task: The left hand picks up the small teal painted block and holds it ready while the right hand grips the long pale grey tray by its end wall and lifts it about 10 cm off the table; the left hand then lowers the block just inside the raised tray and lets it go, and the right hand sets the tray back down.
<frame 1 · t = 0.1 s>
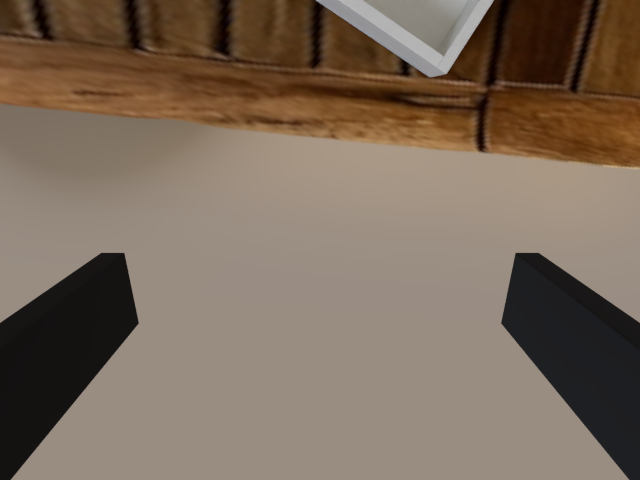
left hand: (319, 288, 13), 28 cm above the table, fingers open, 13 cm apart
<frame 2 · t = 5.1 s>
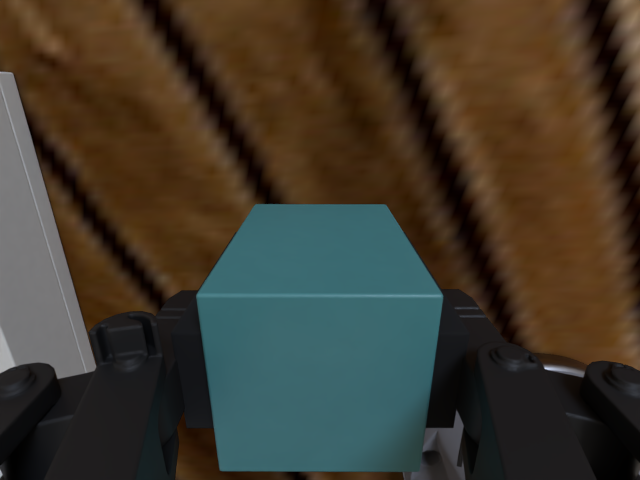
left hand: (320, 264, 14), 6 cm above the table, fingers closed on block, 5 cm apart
block: (320, 264, 15), point 5 cm above the table, touching left hand
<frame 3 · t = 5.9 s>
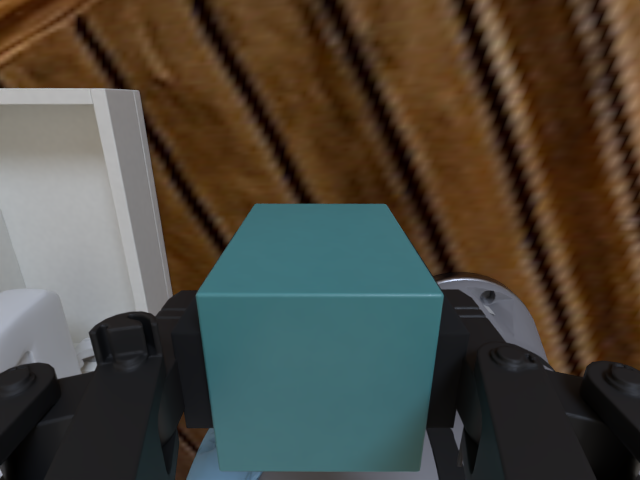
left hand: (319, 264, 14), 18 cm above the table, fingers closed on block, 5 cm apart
block: (320, 263, 15), point 18 cm above the table, touching left hand
tray: (85, 233, 33), on the table, touching right hand
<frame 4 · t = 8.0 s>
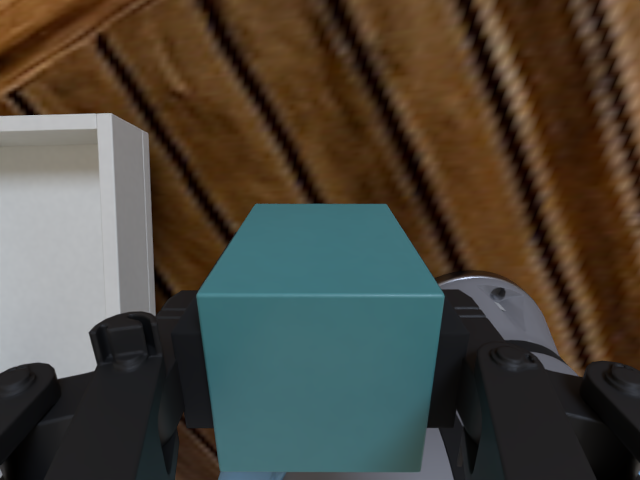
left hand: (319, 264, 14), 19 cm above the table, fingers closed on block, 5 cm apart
block: (320, 263, 15), point 19 cm above the table, touching left hand
tray: (66, 289, 29), point 6 cm above the table, tilted 18°, touching right hand
when the left hand's fingers open (15 cm above the table, at t = 11.4 s): block drops 10 cm and tips over, resting on tray.
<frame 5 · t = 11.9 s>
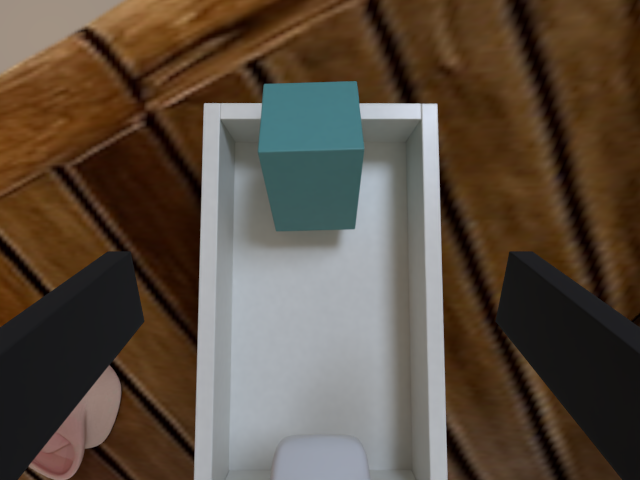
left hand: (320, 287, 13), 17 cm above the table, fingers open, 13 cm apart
block: (314, 199, 24), point 4 cm above the table, tilted 52°, touching tray
anatomical model: (64, 388, 35), on the table
tray: (320, 299, 26), point 5 cm above the table, tilted 25°, touching block, right hand
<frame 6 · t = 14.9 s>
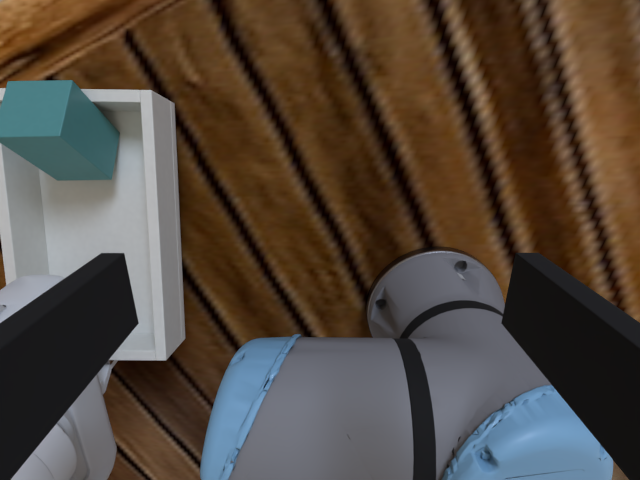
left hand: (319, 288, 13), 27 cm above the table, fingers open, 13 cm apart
block: (89, 156, 34), point 3 cm above the table, tilted 38°, touching tray
tray: (111, 225, 37), point 3 cm above the table, tilted 13°, touching block, right hand
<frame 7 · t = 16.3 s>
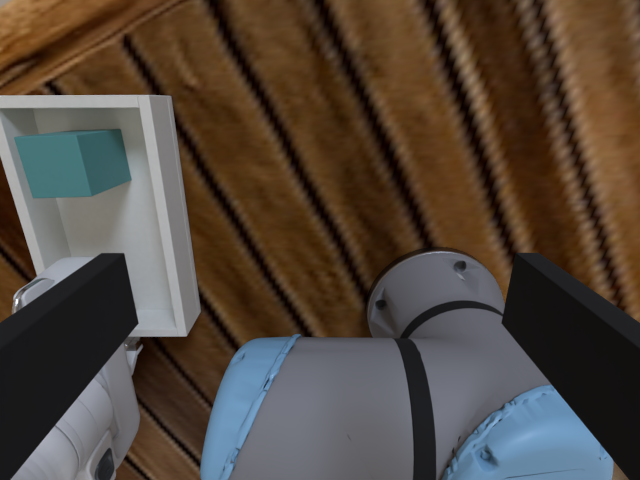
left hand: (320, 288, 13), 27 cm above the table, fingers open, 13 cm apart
block: (101, 155, 36), point 1 cm above the table, touching tray
tray: (123, 215, 39), on the table, touching block
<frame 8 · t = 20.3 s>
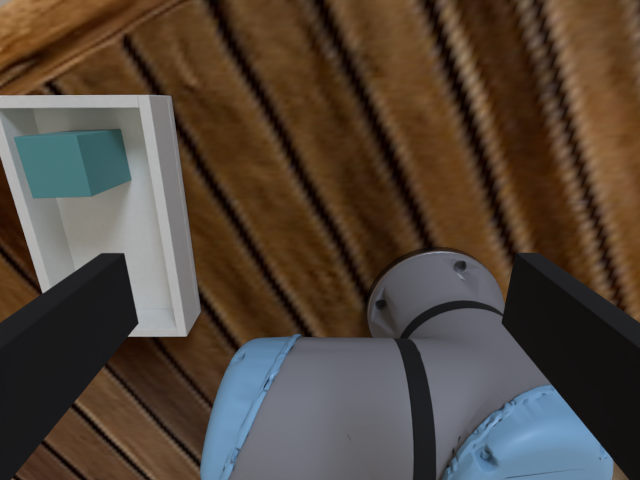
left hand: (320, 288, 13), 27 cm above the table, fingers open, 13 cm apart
block: (101, 155, 36), point 1 cm above the table, touching tray
tray: (123, 215, 39), on the table, touching block
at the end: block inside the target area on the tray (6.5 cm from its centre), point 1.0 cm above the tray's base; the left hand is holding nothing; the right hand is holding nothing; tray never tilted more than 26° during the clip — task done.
